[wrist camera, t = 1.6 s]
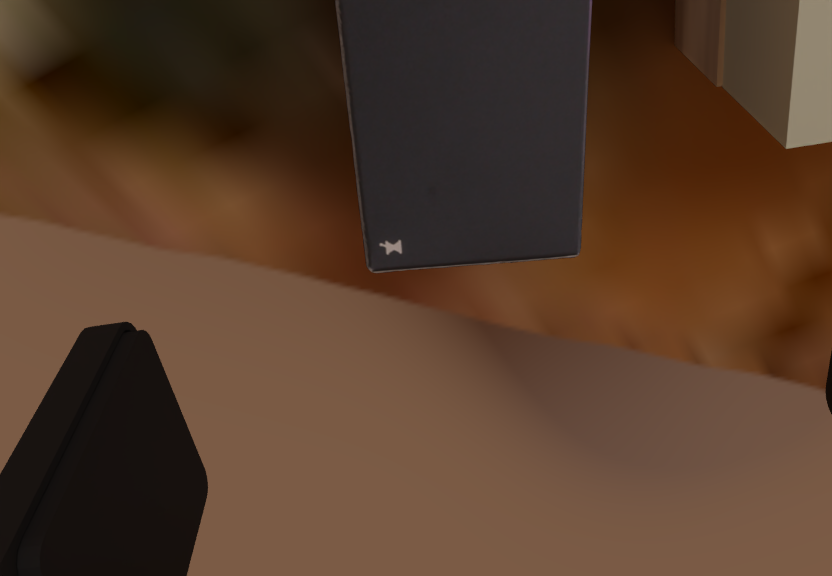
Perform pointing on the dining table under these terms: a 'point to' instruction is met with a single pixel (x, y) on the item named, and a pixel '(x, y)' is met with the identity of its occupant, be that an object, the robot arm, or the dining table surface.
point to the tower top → (782, 66)
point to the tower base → (702, 35)
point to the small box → (467, 128)
